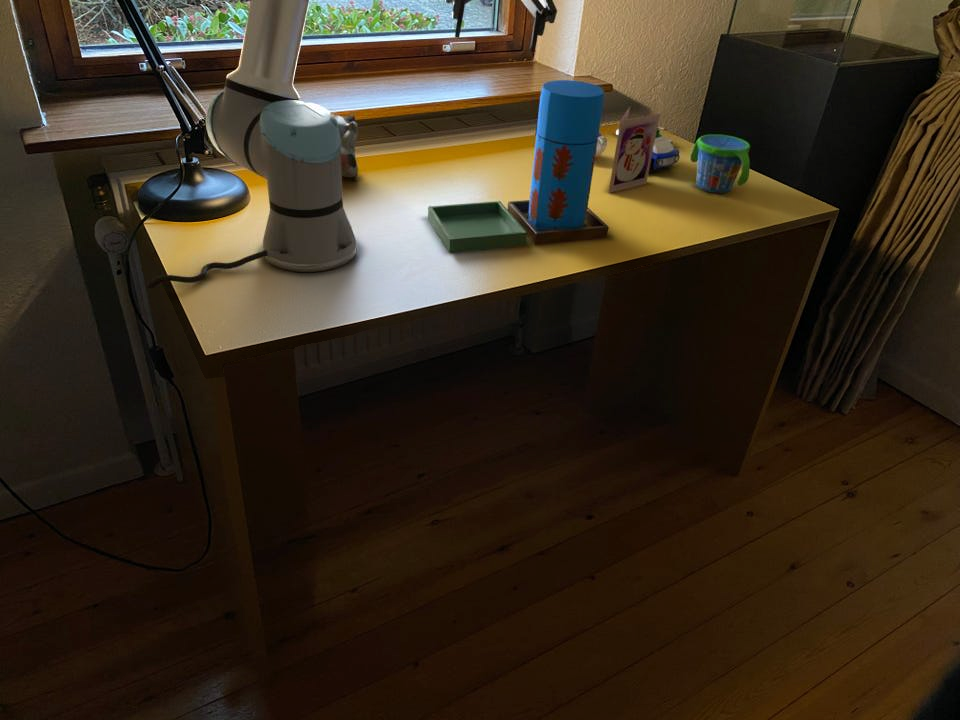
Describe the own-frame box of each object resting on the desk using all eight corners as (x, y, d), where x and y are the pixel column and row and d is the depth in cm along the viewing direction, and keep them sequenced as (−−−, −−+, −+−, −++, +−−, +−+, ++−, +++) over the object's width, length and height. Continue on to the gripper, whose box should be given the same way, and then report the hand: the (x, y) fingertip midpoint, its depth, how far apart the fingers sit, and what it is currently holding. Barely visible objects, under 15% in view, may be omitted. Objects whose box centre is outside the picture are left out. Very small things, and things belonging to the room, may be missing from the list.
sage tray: (449, 252, 126) (449, 239, 125) (427, 218, 137) (428, 206, 136) (525, 245, 131) (527, 232, 129) (499, 213, 141) (500, 200, 140)
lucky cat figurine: (279, 174, 150) (285, 105, 149) (327, 185, 159) (333, 120, 158) (322, 174, 141) (330, 99, 139) (371, 185, 150) (378, 116, 148)
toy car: (654, 177, 162) (663, 135, 157) (613, 161, 170) (620, 120, 164) (680, 170, 167) (689, 128, 162) (639, 154, 175) (646, 114, 169)
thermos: (581, 240, 134) (602, 100, 119) (523, 232, 135) (537, 92, 121) (586, 217, 142) (606, 84, 128) (532, 209, 144) (546, 77, 130)
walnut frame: (534, 244, 131) (536, 233, 130) (507, 212, 142) (508, 201, 141) (607, 237, 135) (609, 226, 134) (574, 206, 146) (576, 196, 145)
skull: (569, 135, 175) (604, 110, 165) (583, 170, 175) (618, 146, 165) (546, 138, 170) (581, 112, 161) (560, 174, 170) (596, 150, 160)
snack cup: (672, 176, 164) (682, 131, 158) (712, 173, 167) (723, 128, 161) (713, 204, 152) (725, 155, 146) (755, 199, 155) (769, 152, 149)
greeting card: (611, 194, 153) (623, 122, 144) (587, 182, 158) (597, 111, 149) (649, 184, 159) (663, 114, 150) (624, 173, 163) (636, 105, 155)
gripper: (570, -20, 142) (560, 67, 134) (442, -45, 140) (424, 41, 133) (579, -53, 135) (569, 36, 127) (445, -80, 133) (426, 8, 126)
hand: (495, 39), depth 130 cm, fingers open, 13 cm apart
